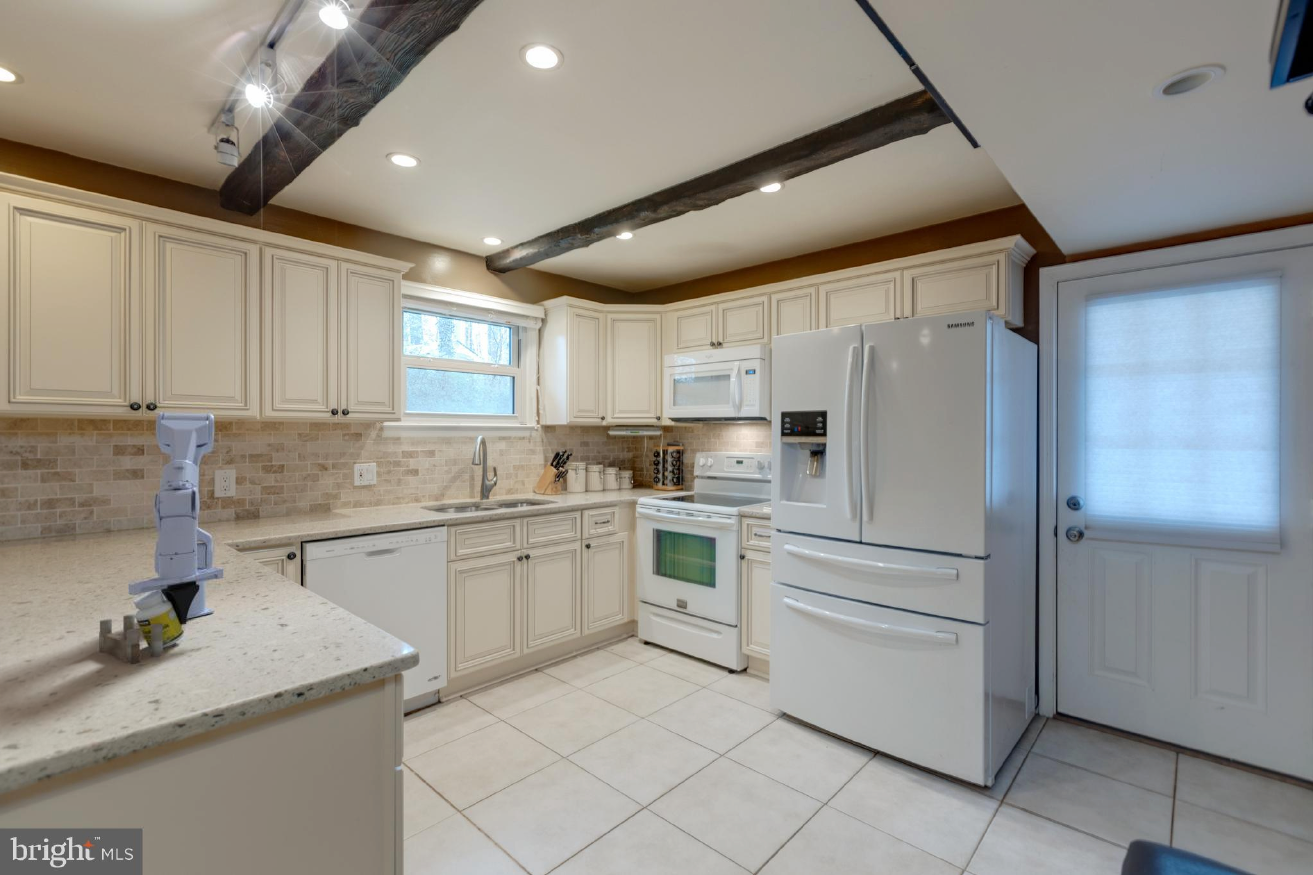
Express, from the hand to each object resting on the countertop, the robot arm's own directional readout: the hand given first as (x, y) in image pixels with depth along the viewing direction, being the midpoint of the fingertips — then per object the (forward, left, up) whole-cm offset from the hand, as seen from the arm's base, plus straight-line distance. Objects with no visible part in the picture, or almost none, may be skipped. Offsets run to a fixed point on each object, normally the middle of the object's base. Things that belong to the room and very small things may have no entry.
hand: (179, 624), depth 113 cm
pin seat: (-1, -7, -3) cm, 8 cm away
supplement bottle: (0, -2, -3) cm, 4 cm away
